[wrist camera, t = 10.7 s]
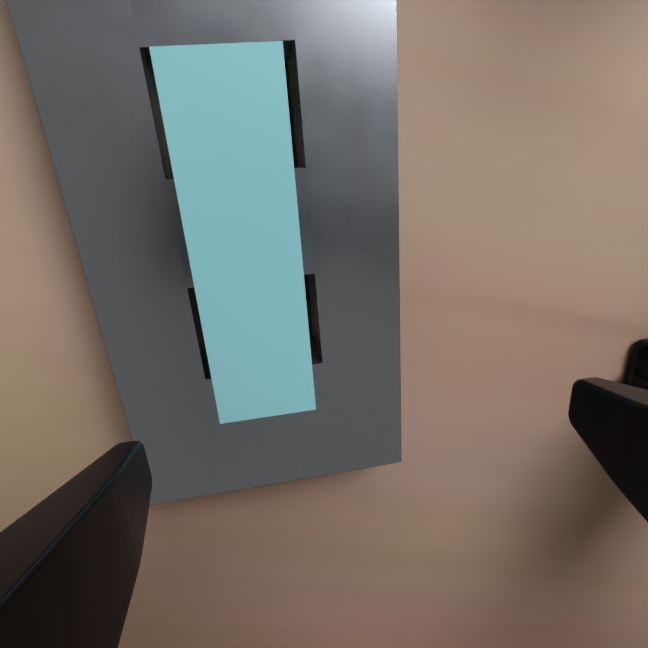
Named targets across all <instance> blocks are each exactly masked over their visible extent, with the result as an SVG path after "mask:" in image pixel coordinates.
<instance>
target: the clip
mask: <svg viewBox="0 0 648 648" xmlns="http://www.w3.org/2000/svg"><path fill="white" fill-rule="evenodd" d="M149 49H150V55H151V60H152V65H153V70H154V76H155V81H156V86H157V92H158V97H159V102H160V108H161V113H162V118H163V124H164V129H165V134H166V140H167V145H168V150H169V155H170V161H171V166H172V171H173V177H174V182H175V187H176V193H177V198H178V203H179V209H180V214H181V219H182V225H183V230H184V235H185V240H186V246H187V251H188V256H189V262H190V267H191V272H192V278H193V283H194V288H195V294H196V299H197V304H198V310H199V315H200V320H201V326H202V331H203V336H204V341H205V347H206V352H207V357H208V363H209V368H210V373H211V379H212V384H213V389H214V395H215V400H216V405H217V411H218V416H219V421H220V424H223V423H230V422H236V421H243V420H250V419H256V418H263V417H270V416H276V415H283V414H290V413H296V412H303V411H310V410H316V403H315V392H314V381H313V370H312V359H311V348H310V337H309V326H308V315H307V304H306V293H305V282H304V271H303V260H302V249H301V238H300V227H299V216H298V205H297V194H296V183H295V172H294V161H293V150H292V138H291V127H290V116H289V105H288V94H287V83H286V72H285V61H284V50H283V41H268V42H245V43H221V44H198V45H175V46H151V47H149Z"/></svg>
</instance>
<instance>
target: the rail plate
mask: <svg viewBox="0 0 648 648" xmlns="http://www.w3.org/2000/svg"><path fill="white" fill-rule="evenodd" d="M7 4H8V7H9V11H10V14H11V18H12V21H13V25H14V28H15V32H16V35H17V39H18V42H19V46H20V49H21V53H22V56H23V60H24V63H25V67H26V70H27V74H28V77H29V81H30V84H31V88H32V91H33V95H34V98H35V102H36V105H37V109H38V112H39V116H40V119H41V123H42V126H43V130H44V133H45V137H46V140H47V144H48V147H49V151H50V154H51V158H52V161H53V165H54V168H55V172H56V175H57V179H58V182H59V186H60V189H61V193H62V196H63V200H64V203H65V207H66V210H67V214H68V217H69V221H70V224H71V228H72V231H73V235H74V238H75V242H76V245H77V249H78V252H79V256H80V259H81V263H82V266H83V270H84V273H85V277H86V280H87V284H88V287H89V291H90V294H91V298H92V301H93V305H94V308H95V312H96V315H97V319H98V322H99V326H100V329H101V333H102V336H103V340H104V343H105V347H106V350H107V353H108V357H109V360H110V364H111V367H112V371H113V374H114V378H115V381H116V385H117V388H118V392H119V395H120V399H121V402H122V406H123V409H124V413H125V416H126V420H127V423H128V427H129V430H130V434H131V437H132V441H141V442H142V443H143V445H144V448H145V452H146V455H147V459H148V463H149V467H150V471H151V475H152V491H151V497H150V504H151V505H154V504H160V503H166V502H172V501H177V500H183V499H189V498H195V497H201V496H206V495H212V494H218V493H224V492H230V491H235V490H241V489H247V488H253V487H258V486H264V485H270V484H276V483H282V482H287V481H293V480H299V479H305V478H311V477H316V476H322V475H328V474H334V473H340V472H345V471H351V470H357V469H363V468H368V467H374V466H380V465H386V464H392V463H397V462H401V376H400V289H399V202H398V115H397V29H396V0H7ZM268 41H283V50H284V60H288V68H289V79H290V90H291V101H292V112H293V123H294V133H295V144H296V155H297V166H298V167H294V172H295V183H296V194H297V205H298V216H299V227H300V238H301V249H302V260H303V271H304V275H308V286H309V297H310V308H311V319H312V330H313V337H310V348H311V359H312V370H313V381H314V392H315V403H316V410H310V411H303V412H296V413H290V414H283V415H276V416H270V417H263V418H256V419H250V420H243V421H236V422H230V423H223V424H220V421H219V416H218V411H217V405H216V400H215V395H214V389H213V384H212V379H211V373H210V368H209V363H208V357H207V352H206V347H205V341H204V336H203V331H202V326H201V320H200V315H199V310H198V304H197V299H196V294H195V288H194V283H193V278H192V272H191V267H190V262H189V256H188V251H187V246H186V240H185V235H184V230H183V225H182V219H181V214H180V209H179V203H178V198H177V193H176V187H175V182H174V177H173V171H172V166H171V161H170V155H169V150H168V145H167V140H166V134H165V129H164V124H163V118H162V113H161V108H160V102H159V97H158V92H157V86H156V81H155V76H154V70H153V65H152V60H151V55H150V49H149V47H151V46H175V45H198V44H221V43H245V42H268Z"/></svg>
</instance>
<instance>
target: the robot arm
mask: <svg viewBox="0 0 648 648" xmlns="http://www.w3.org/2000/svg"><path fill="white" fill-rule="evenodd" d="M568 414H569V420H570V422H571V424H572V426H573V427H574V429H575V430H576V431H577V433H578V434H579V436H580V437H581V438H582V440H583V441H584V442H585V444H586V445H587V447H588V448H589V449H590V451H591V452H592V454H593V455H594V456H595V458H596V459H597V461H598V462H599V463H600V465H601V466H602V467H603V469H604V470H605V472H606V473H607V474H608V476H609V477H610V478H611V480H612V481H613V482H614V484H615V485H616V486H617V487H618V488H619V490H620V491H621V492H622V493H623V494H624V496H625V497H626V498H627V499H628V500H629V501H630V502H631V504H632V505H633V506H634V507H635V508H636V509H637V511H638V512H639V513H640V514H641V515H642V516H643V517H644V519H645V520H646V521H647V522H648V339H642V340H639V341H638V342H636V344H635V345H634V347H633V351H632V355H631V360H630V365H629V370H628V375H627V380H626V385H625V384H621V383H617V382H613V381H609V380H605V379H601V378H596V377H592V378H585V379H579V380H577V381H575V382H574V384H573V387H572V393H571V399H570V405H569V412H568ZM151 491H152V475H151V471H150V467H149V463H148V459H147V455H146V452H145V448H144V445H143V443H142V442H141V441H130V442H123V443H119V444H117V445H115V446H114V447H113V448H111V449H110V450H109V451H107V452H106V453H105V454H104V455H102V456H101V457H100V458H98V459H97V460H96V461H94V462H93V463H92V464H90V465H89V466H88V467H86V468H85V469H84V470H82V471H81V472H80V473H78V474H77V475H76V476H74V477H73V478H72V479H70V480H69V481H68V482H66V483H65V484H64V485H63V486H61V487H60V488H59V489H57V490H56V491H55V492H53V493H52V494H51V495H49V496H48V497H47V498H45V499H44V500H43V501H41V502H40V503H39V504H37V505H36V506H35V507H33V508H32V509H31V510H29V511H28V512H27V513H25V514H24V515H23V516H21V517H20V518H19V519H18V520H16V521H15V522H14V523H12V524H11V525H10V526H8V527H7V528H6V529H4V530H3V531H2V532H0V648H118V645H119V641H120V637H121V633H122V630H123V626H124V622H125V619H126V615H127V611H128V608H129V604H130V600H131V597H132V593H133V589H134V586H135V582H136V578H137V574H138V570H139V566H140V561H141V556H142V550H143V543H144V537H145V530H146V524H147V517H148V511H149V504H150V497H151Z"/></svg>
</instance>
